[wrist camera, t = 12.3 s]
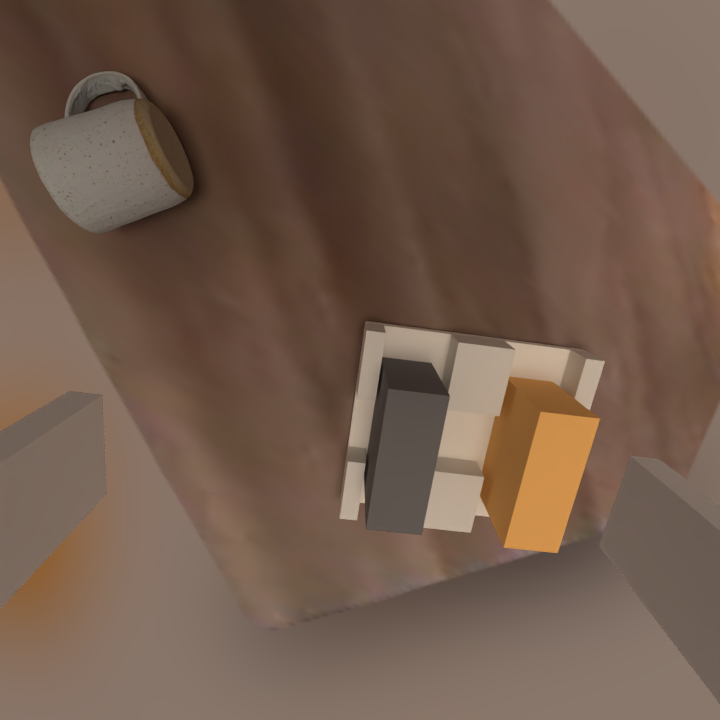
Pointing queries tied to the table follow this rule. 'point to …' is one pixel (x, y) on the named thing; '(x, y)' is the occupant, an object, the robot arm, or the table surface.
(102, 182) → the ceramic mug
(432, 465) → the dark gray brick
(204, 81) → the table surface
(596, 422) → the tall orange brick
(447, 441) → the rack
